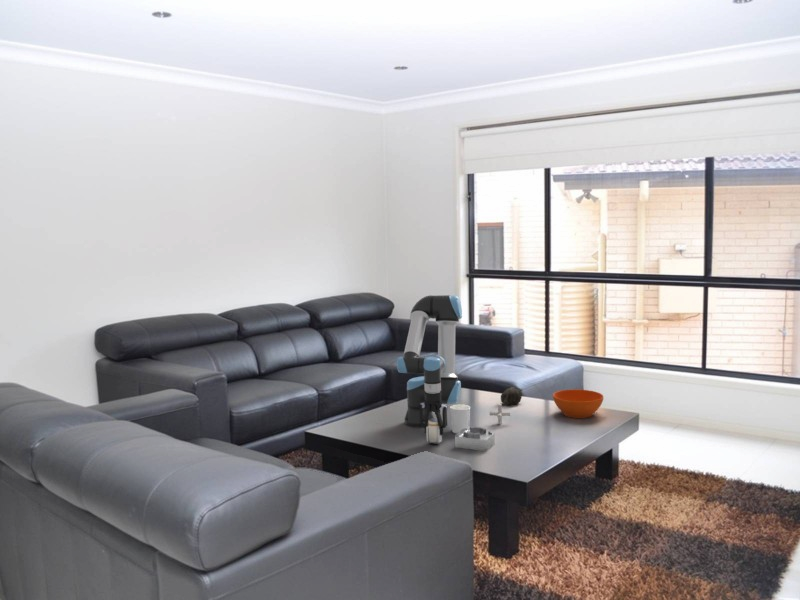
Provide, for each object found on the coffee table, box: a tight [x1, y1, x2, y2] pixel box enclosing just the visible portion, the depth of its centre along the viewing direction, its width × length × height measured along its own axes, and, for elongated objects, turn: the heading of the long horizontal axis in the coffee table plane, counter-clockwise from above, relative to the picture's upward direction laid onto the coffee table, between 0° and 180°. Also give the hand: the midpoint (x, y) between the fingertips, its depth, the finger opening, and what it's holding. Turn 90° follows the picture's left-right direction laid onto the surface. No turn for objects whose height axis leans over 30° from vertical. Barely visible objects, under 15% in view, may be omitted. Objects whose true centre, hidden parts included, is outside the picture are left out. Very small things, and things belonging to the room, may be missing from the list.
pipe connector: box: [489, 403, 511, 425], centre depth 359 cm, size 10×10×10 cm
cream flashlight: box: [427, 418, 439, 445], centre depth 330 cm, size 5×5×10 cm
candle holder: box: [449, 403, 471, 434], centre depth 349 cm, size 10×10×12 cm
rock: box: [500, 386, 523, 406], centre depth 395 cm, size 10×11×10 cm
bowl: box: [552, 388, 604, 419], centre depth 371 cm, size 25×25×10 cm
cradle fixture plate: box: [454, 426, 496, 452], centre depth 327 cm, size 15×11×7 cm
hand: (434, 440), depth 331 cm, fingers closed on cream flashlight, 5 cm apart
